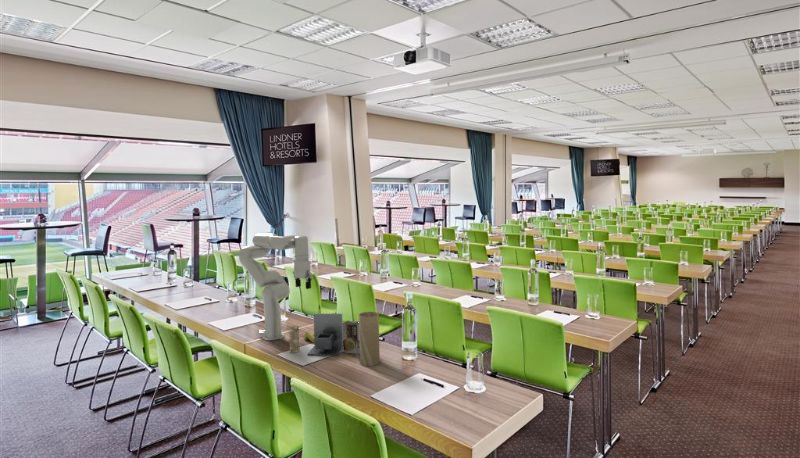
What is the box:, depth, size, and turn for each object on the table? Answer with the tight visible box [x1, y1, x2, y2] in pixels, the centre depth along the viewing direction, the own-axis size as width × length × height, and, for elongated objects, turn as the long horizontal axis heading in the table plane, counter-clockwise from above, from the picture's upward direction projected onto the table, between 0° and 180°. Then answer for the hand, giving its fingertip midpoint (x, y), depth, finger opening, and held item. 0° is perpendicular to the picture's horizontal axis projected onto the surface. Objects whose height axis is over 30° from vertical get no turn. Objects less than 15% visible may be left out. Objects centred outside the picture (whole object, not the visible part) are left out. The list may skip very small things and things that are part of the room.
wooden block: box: [288, 325, 300, 354], centre depth 261 cm, size 4×4×14 cm
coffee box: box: [342, 320, 360, 355], centre depth 260 cm, size 9×6×16 cm
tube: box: [358, 311, 381, 367], centre depth 243 cm, size 10×10×25 cm
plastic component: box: [303, 331, 315, 344], centre depth 286 cm, size 20×7×10 cm
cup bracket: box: [306, 312, 344, 357], centre depth 261 cm, size 16×16×19 cm
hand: (303, 287), depth 271 cm, fingers open, 9 cm apart
